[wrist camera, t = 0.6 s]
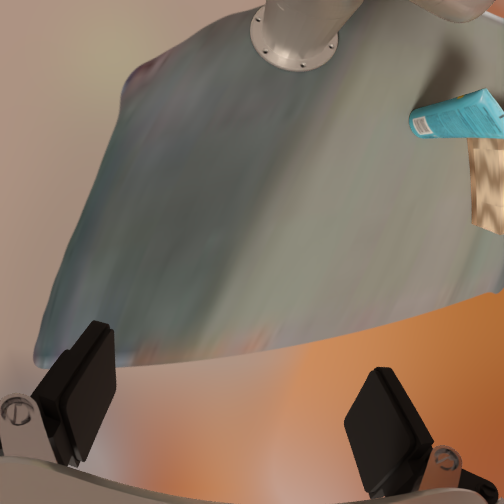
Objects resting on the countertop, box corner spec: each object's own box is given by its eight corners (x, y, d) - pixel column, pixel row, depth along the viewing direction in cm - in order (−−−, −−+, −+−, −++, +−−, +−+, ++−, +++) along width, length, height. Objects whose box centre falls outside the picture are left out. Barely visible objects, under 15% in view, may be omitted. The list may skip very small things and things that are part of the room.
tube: (441, 126, 40) (526, 122, 22) (430, 149, 42) (515, 154, 23) (409, 97, 39) (490, 76, 21) (396, 120, 40) (478, 107, 22)
